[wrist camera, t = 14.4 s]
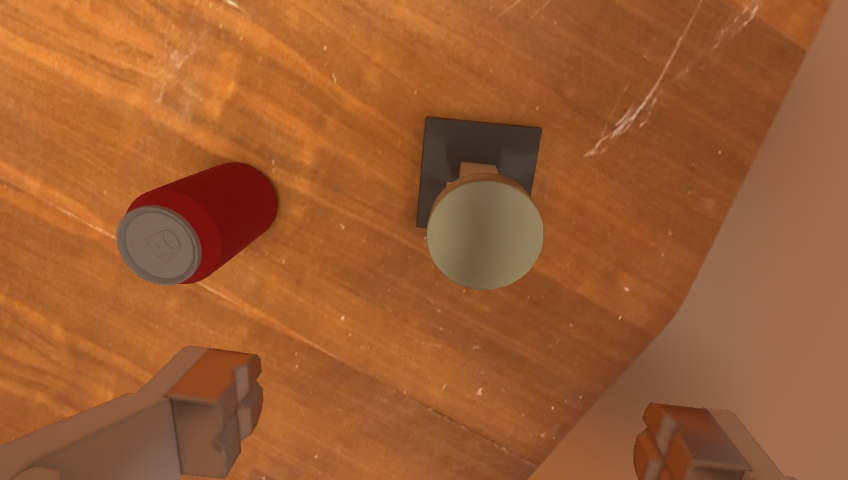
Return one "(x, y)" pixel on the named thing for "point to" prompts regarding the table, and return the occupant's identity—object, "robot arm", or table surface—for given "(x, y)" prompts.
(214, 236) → the beverage can
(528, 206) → the disc
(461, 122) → the stand
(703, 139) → the table surface
